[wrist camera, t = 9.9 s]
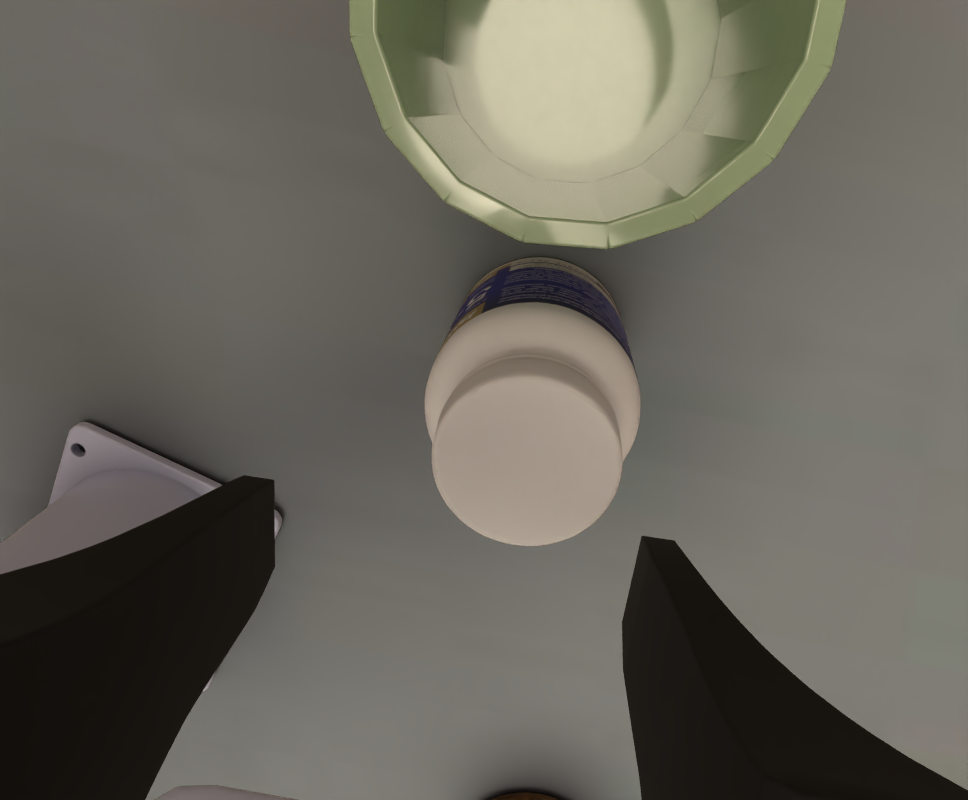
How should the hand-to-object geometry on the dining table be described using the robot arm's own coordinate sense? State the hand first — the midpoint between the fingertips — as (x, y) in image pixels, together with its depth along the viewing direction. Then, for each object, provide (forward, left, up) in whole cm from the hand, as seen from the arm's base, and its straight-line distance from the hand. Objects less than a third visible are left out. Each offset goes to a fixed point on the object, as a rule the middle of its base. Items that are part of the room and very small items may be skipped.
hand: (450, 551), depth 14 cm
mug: (+11, +2, -10) cm, 15 cm away
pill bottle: (+2, -1, -11) cm, 11 cm away
